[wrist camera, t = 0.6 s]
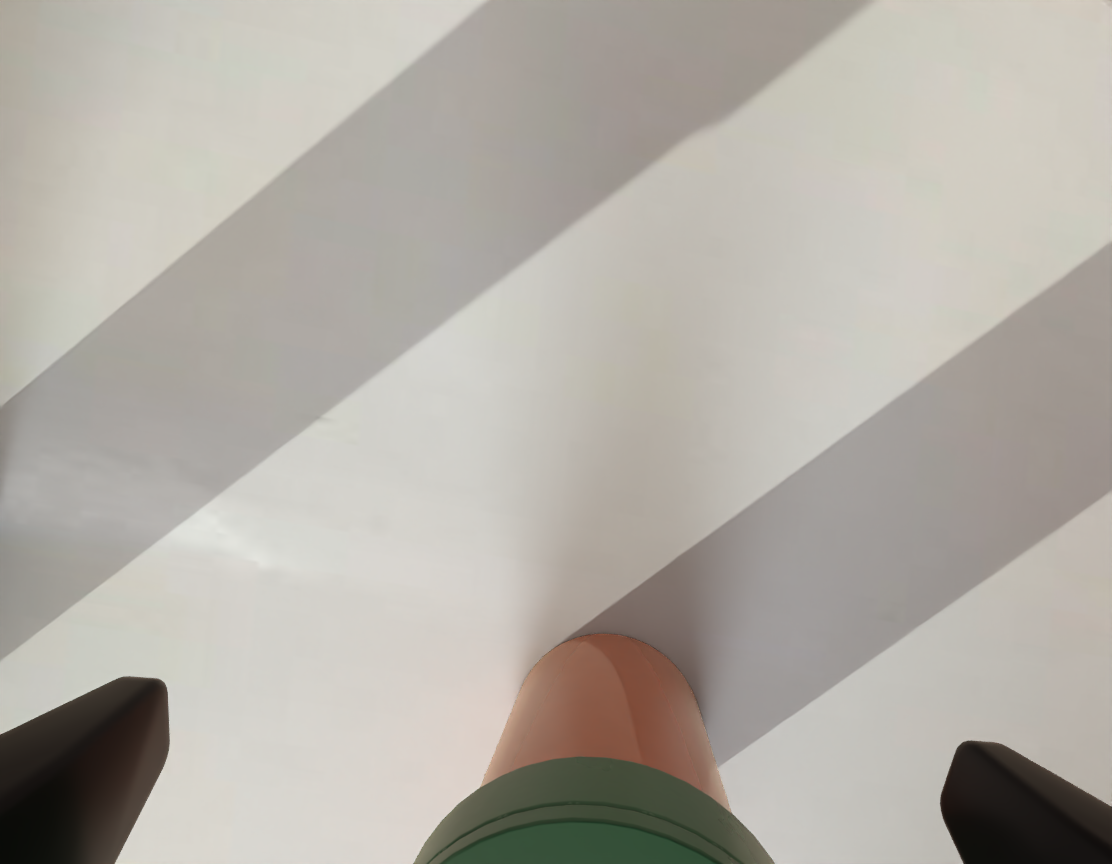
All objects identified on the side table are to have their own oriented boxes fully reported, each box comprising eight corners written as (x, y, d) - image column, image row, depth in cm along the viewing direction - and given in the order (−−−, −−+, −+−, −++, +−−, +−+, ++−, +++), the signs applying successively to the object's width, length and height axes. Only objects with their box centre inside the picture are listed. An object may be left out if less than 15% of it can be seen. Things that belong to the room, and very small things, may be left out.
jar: (741, 722, 19) (888, 1047, 9) (617, 862, 20) (615, 1345, 9) (595, 594, 20) (570, 753, 9) (476, 732, 20) (320, 1040, 10)
